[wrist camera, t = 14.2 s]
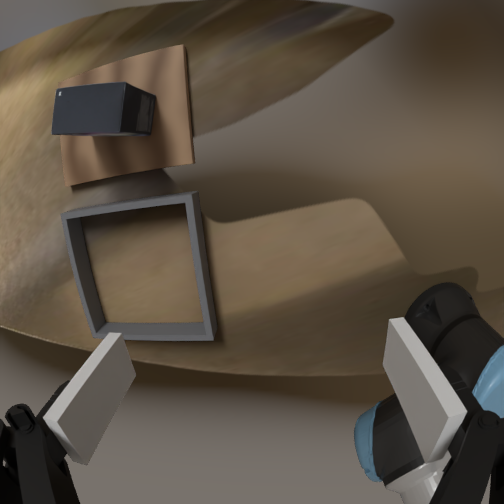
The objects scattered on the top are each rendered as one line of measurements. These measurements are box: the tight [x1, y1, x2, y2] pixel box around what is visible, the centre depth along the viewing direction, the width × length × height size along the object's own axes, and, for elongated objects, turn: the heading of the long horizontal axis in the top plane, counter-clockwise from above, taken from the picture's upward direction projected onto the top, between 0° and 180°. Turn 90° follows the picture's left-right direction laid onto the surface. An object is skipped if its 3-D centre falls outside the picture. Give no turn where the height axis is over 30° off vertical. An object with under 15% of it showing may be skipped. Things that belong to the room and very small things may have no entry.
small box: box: [51, 81, 156, 136], centre depth 34 cm, size 11×6×10 cm, turn 83°
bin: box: [61, 191, 217, 341], centre depth 46 cm, size 22×22×4 cm
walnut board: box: [59, 44, 195, 187], centre depth 40 cm, size 22×18×2 cm
